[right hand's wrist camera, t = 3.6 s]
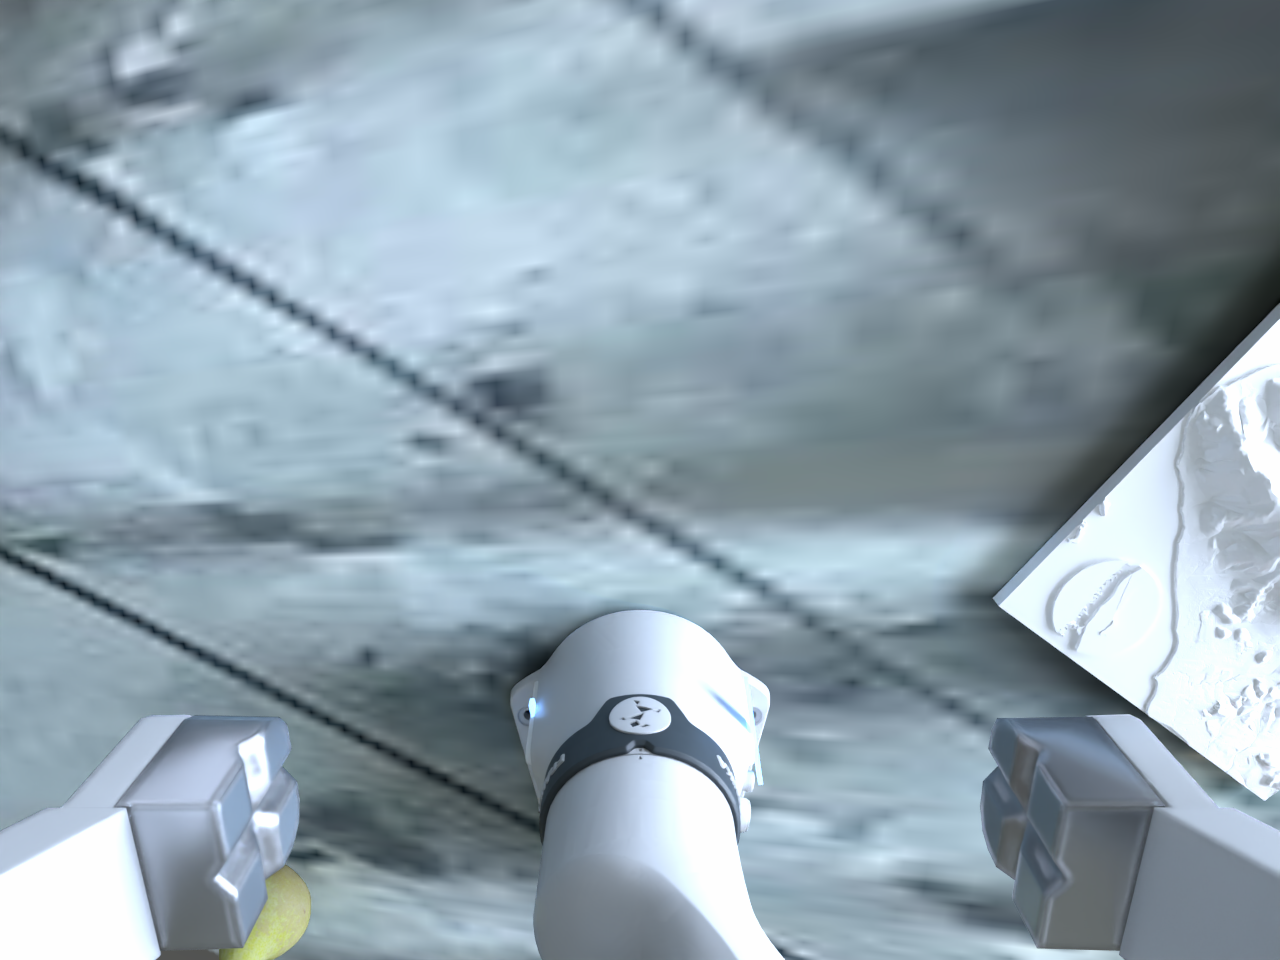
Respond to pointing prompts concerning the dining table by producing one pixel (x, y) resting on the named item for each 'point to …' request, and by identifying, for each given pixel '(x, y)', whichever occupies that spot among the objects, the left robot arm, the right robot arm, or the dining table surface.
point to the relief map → (1183, 571)
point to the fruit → (276, 919)
